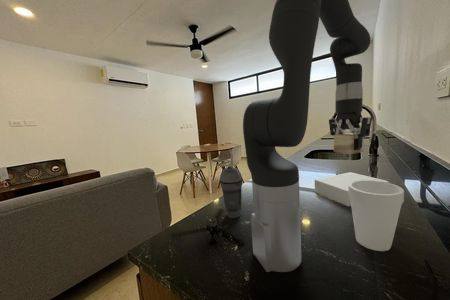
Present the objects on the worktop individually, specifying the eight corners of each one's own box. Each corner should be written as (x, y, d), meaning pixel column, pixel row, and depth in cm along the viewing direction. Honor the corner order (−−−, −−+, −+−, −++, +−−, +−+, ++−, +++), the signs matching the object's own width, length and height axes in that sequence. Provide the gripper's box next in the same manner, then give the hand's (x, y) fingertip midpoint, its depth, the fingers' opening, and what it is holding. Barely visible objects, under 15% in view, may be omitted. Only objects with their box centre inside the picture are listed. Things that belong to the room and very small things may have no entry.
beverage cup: (233, 207, 67) (228, 150, 64) (250, 213, 61) (245, 151, 58) (218, 215, 62) (212, 154, 59) (234, 222, 56) (229, 156, 53)
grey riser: (348, 206, 60) (348, 191, 59) (314, 192, 73) (314, 179, 73) (388, 195, 65) (388, 181, 65) (350, 183, 79) (350, 172, 78)
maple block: (349, 154, 62) (349, 135, 61) (333, 152, 68) (333, 135, 67) (363, 151, 64) (363, 133, 63) (346, 149, 69) (346, 133, 68)
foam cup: (347, 226, 50) (347, 178, 48) (394, 234, 45) (396, 181, 43) (349, 249, 42) (349, 192, 40) (406, 261, 37) (410, 198, 35)
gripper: (322, 101, 69) (322, 148, 71) (361, 95, 55) (360, 153, 57) (338, 100, 71) (338, 145, 73) (380, 94, 57) (378, 149, 60)
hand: (348, 148), depth 65 cm, fingers closed on maple block, 6 cm apart
